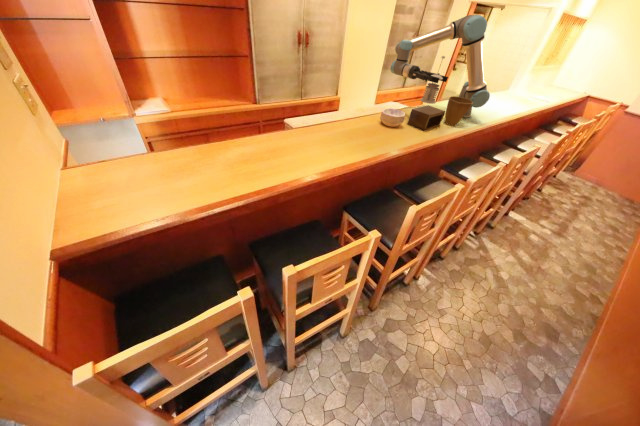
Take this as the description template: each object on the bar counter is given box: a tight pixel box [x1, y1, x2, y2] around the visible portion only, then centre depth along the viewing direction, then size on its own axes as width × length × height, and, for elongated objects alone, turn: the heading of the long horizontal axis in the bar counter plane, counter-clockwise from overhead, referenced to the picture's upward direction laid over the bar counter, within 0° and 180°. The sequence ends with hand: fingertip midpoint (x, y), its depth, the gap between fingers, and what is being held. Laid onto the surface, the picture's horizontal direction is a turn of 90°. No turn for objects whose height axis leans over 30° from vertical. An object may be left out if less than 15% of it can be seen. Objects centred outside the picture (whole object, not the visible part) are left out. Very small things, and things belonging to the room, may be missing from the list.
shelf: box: [406, 105, 446, 132], centre depth 160 cm, size 19×13×10 cm
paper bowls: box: [379, 107, 406, 128], centre depth 157 cm, size 15×15×8 cm
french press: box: [419, 55, 446, 105], centre depth 148 cm, size 10×12×25 cm
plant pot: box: [444, 95, 473, 126], centre depth 166 cm, size 15×15×16 cm
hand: (442, 80), depth 145 cm, fingers closed on french press, 9 cm apart
